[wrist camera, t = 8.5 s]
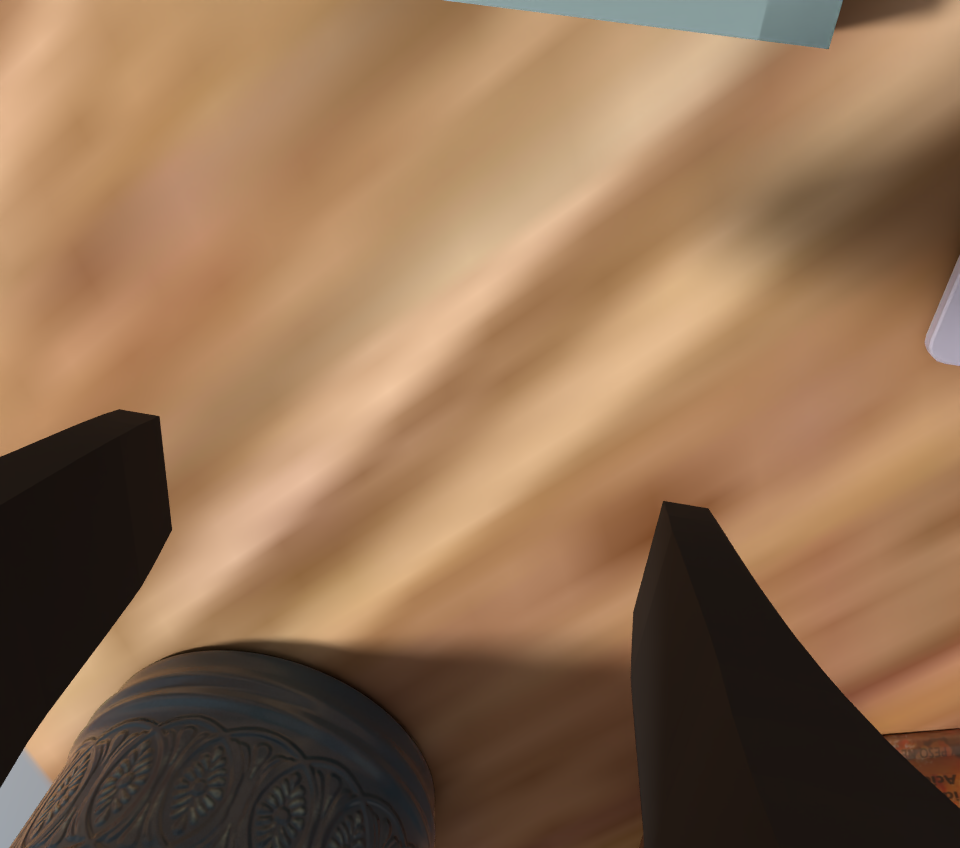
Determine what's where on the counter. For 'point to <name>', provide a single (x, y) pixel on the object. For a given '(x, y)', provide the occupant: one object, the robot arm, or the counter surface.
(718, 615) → the robot arm
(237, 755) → the canister
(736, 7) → the link
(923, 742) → the tin
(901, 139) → the counter surface
